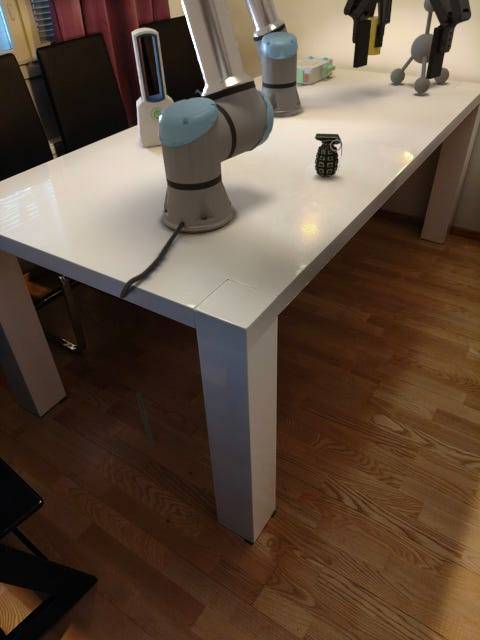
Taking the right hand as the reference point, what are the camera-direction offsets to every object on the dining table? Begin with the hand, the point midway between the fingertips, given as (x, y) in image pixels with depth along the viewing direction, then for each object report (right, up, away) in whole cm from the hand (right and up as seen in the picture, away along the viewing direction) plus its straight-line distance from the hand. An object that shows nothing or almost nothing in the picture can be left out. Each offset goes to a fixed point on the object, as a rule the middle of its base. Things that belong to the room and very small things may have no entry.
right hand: (372, 45), depth 171 cm
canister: (0, -2, +2) cm, 3 cm away
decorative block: (-19, +7, +37) cm, 42 cm away
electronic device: (-71, -41, -20) cm, 85 cm away
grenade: (-25, -60, -49) cm, 81 cm away
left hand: (-22, -57, -94) cm, 113 cm away
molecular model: (+24, -6, +17) cm, 30 cm away
